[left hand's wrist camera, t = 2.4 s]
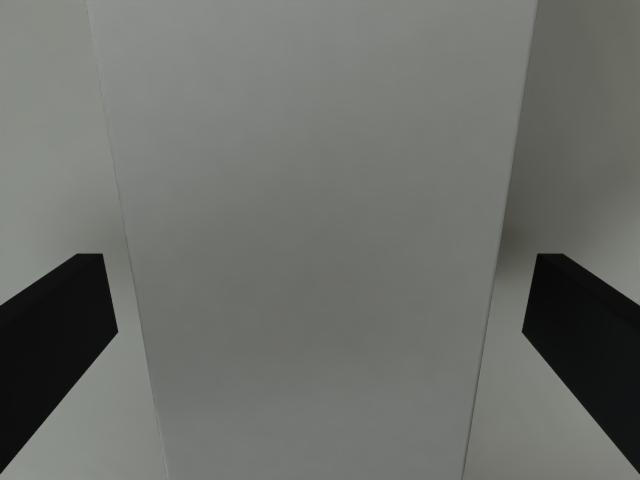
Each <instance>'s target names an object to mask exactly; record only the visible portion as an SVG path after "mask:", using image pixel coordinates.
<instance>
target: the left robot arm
mask: <svg viewBox="0 0 640 480" xmlns="http://www.w3.org/2000/svg"><path fill="white" fill-rule="evenodd" d="M117 333H118V328H117V323H116V318H115V313H114V308H113V303H112V298H111V293H110V288H109V283H108V278H107V273H106V268H105V263H104V258H103V254H76V255H74V256H73V257H71V258H70V259H68V260H67V261H66V262H64V263H63V264H61V265H60V266H58V267H57V268H55V269H54V270H52V271H51V272H49V273H48V274H46V275H45V276H43V277H42V278H40V279H39V280H37V281H36V282H35V283H33V284H32V285H30V286H29V287H27V288H26V289H24V290H23V291H21V292H20V293H18V294H17V295H15V296H14V297H12V298H11V299H9V300H8V301H6V302H5V303H4V304H2V305H1V306H0V474H1V473H2V472H3V470H4V469H5V468H6V467H7V466H8V464H9V463H10V462H11V461H12V460H13V458H14V457H15V456H16V455H17V453H18V452H19V451H20V450H21V449H22V447H23V446H24V445H25V444H26V443H27V441H28V440H29V439H30V438H31V437H32V435H33V434H34V433H35V432H36V431H37V429H38V428H39V427H40V426H41V425H42V423H43V422H44V421H45V420H46V419H47V417H48V416H49V415H50V414H51V413H52V411H53V410H54V409H55V408H56V407H57V405H58V404H59V403H60V402H61V400H62V399H63V398H64V397H65V396H66V394H67V393H68V392H69V391H70V390H71V388H72V387H73V386H74V385H75V384H76V382H77V381H78V380H79V379H80V378H81V376H82V375H83V374H84V373H85V372H86V370H87V369H88V368H89V367H90V366H91V364H92V363H93V362H94V361H95V360H96V358H97V357H98V356H99V355H100V353H101V352H102V351H103V350H104V349H105V347H106V346H107V345H108V344H109V343H110V341H111V340H112V339H113V338H114V337H115V335H116V334H117ZM522 333H523V334H524V335H525V337H526V338H527V339H528V340H529V341H530V343H531V344H532V345H533V346H534V347H535V349H536V350H537V351H538V352H539V353H540V355H541V356H542V357H543V358H544V360H545V361H546V362H547V363H548V364H549V366H550V367H551V368H552V369H553V370H554V372H555V373H556V374H557V375H558V376H559V378H560V379H561V380H562V381H563V382H564V384H565V385H566V386H567V387H568V388H569V390H570V391H571V392H572V393H573V394H574V396H575V397H576V398H577V399H578V400H579V402H580V403H581V404H582V405H583V407H584V408H585V409H586V410H587V411H588V413H589V414H590V415H591V416H592V417H593V419H594V420H595V421H596V422H597V423H598V425H599V426H600V427H601V428H602V429H603V431H604V432H605V433H606V434H607V435H608V437H609V438H610V439H611V440H612V441H613V443H614V444H615V445H616V446H617V447H618V449H619V450H620V451H621V452H622V453H623V455H624V456H625V457H626V458H627V460H628V461H629V462H630V463H631V464H632V466H633V467H634V468H635V469H636V470H637V472H638V473H639V474H640V306H639V305H638V304H636V303H635V302H634V301H632V300H631V299H629V298H628V297H626V296H625V295H623V294H622V293H620V292H619V291H617V290H616V289H614V288H613V287H611V286H610V285H608V284H607V283H605V282H604V281H603V280H601V279H600V278H598V277H597V276H595V275H594V274H592V273H591V272H589V271H588V270H586V269H585V268H583V267H582V266H580V265H579V264H577V263H576V262H574V261H573V260H572V259H570V258H569V257H567V256H566V255H564V254H537V258H536V263H535V268H534V273H533V278H532V283H531V288H530V293H529V298H528V303H527V308H526V313H525V318H524V323H523V328H522Z"/></svg>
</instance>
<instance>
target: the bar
mask: <svg viewBox="0 0 640 480" xmlns="http://www.w3.org/2000/svg"><path fill="white" fill-rule="evenodd" d="M538 2H539V0H86V6H87V12H88V18H89V23H90V29H91V35H92V41H93V47H94V53H95V59H96V65H97V70H98V76H99V82H100V88H101V94H102V100H103V106H104V111H105V117H106V123H107V129H108V135H109V141H110V147H111V153H112V158H113V164H114V170H115V176H116V182H117V188H118V194H119V200H120V205H121V211H122V217H123V223H124V229H125V235H126V241H127V246H128V252H129V258H130V264H131V270H132V276H133V282H134V288H135V293H136V299H137V305H138V311H139V317H140V323H141V329H142V334H143V340H144V346H145V352H146V358H147V364H148V370H149V376H150V381H151V387H152V393H153V399H154V405H155V411H156V417H157V423H158V428H159V434H160V440H161V446H162V452H163V458H164V464H165V469H166V475H167V480H463V474H464V468H465V461H466V455H467V449H468V442H469V436H470V430H471V424H472V417H473V411H474V405H475V398H476V392H477V386H478V380H479V373H480V367H481V361H482V354H483V348H484V342H485V335H486V329H487V323H488V317H489V310H490V304H491V298H492V291H493V285H494V279H495V273H496V266H497V260H498V254H499V247H500V241H501V235H502V229H503V222H504V216H505V210H506V203H507V197H508V191H509V184H510V178H511V172H512V166H513V159H514V153H515V147H516V140H517V134H518V128H519V122H520V115H521V109H522V103H523V96H524V90H525V84H526V77H527V71H528V65H529V59H530V52H531V46H532V40H533V33H534V27H535V21H536V15H537V8H538Z"/></svg>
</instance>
